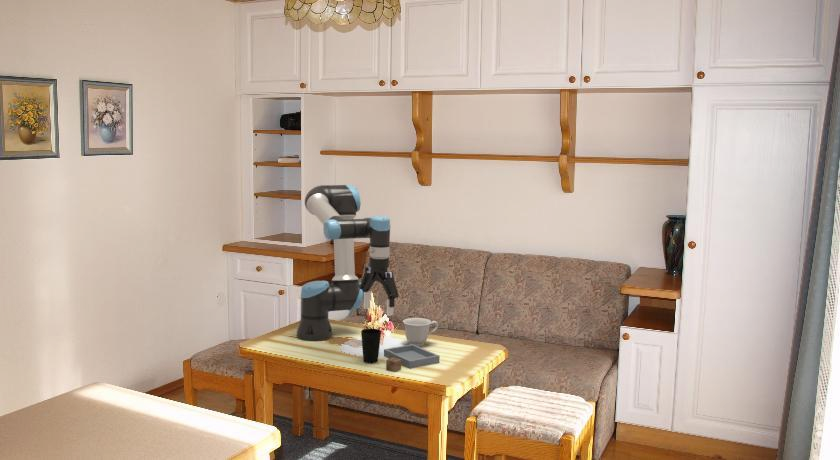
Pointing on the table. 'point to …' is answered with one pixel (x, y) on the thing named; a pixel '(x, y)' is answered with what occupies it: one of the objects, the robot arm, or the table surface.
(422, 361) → the tray
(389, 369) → the walnut block
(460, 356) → the table surface
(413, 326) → the teacup
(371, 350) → the cup
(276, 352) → the table surface
